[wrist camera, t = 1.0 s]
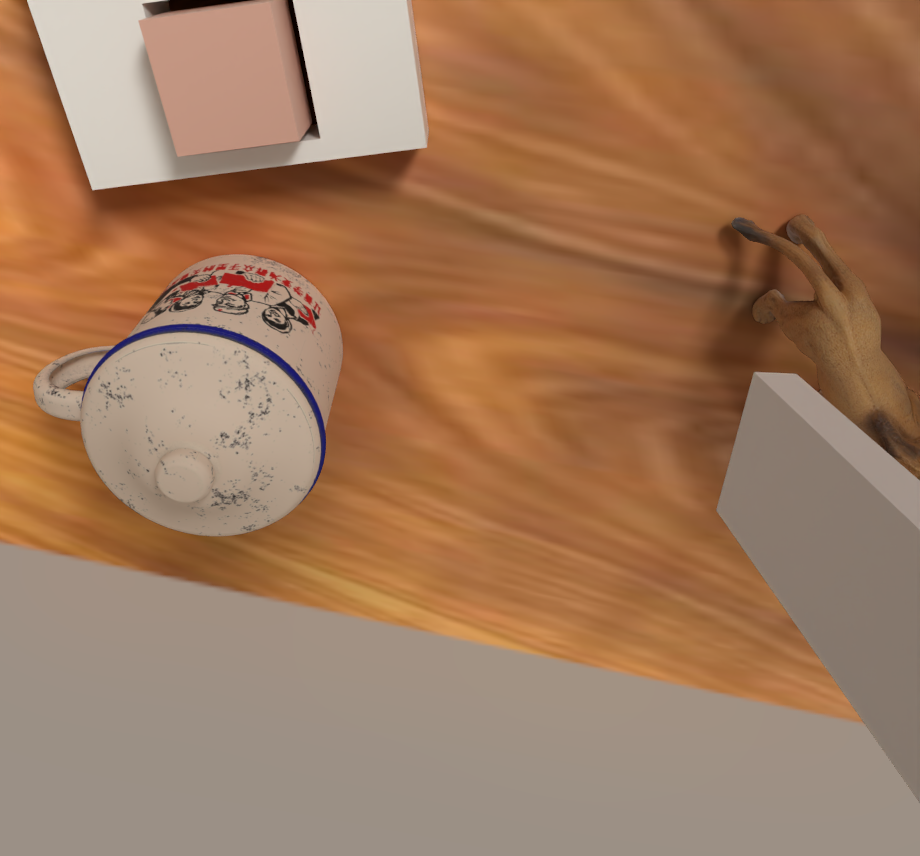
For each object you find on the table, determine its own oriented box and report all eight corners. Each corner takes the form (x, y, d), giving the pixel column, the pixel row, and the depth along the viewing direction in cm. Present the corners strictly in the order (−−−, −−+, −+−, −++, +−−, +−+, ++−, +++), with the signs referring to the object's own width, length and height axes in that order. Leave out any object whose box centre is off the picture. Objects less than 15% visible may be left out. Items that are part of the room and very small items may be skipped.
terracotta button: (286, -6, 30) (269, 2, 27) (312, 122, 32) (299, 141, 30) (166, 11, 30) (138, 20, 28) (200, 137, 33) (177, 156, 30)
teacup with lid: (351, 254, 37) (312, 376, 27) (347, 431, 42) (314, 591, 32) (72, 232, 36) (-73, 349, 26) (100, 414, 41) (-13, 572, 31)
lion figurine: (949, 393, 41) (1065, 502, 33) (852, 458, 43) (940, 576, 35) (778, 174, 35) (869, 244, 28) (676, 259, 37) (734, 347, 30)
